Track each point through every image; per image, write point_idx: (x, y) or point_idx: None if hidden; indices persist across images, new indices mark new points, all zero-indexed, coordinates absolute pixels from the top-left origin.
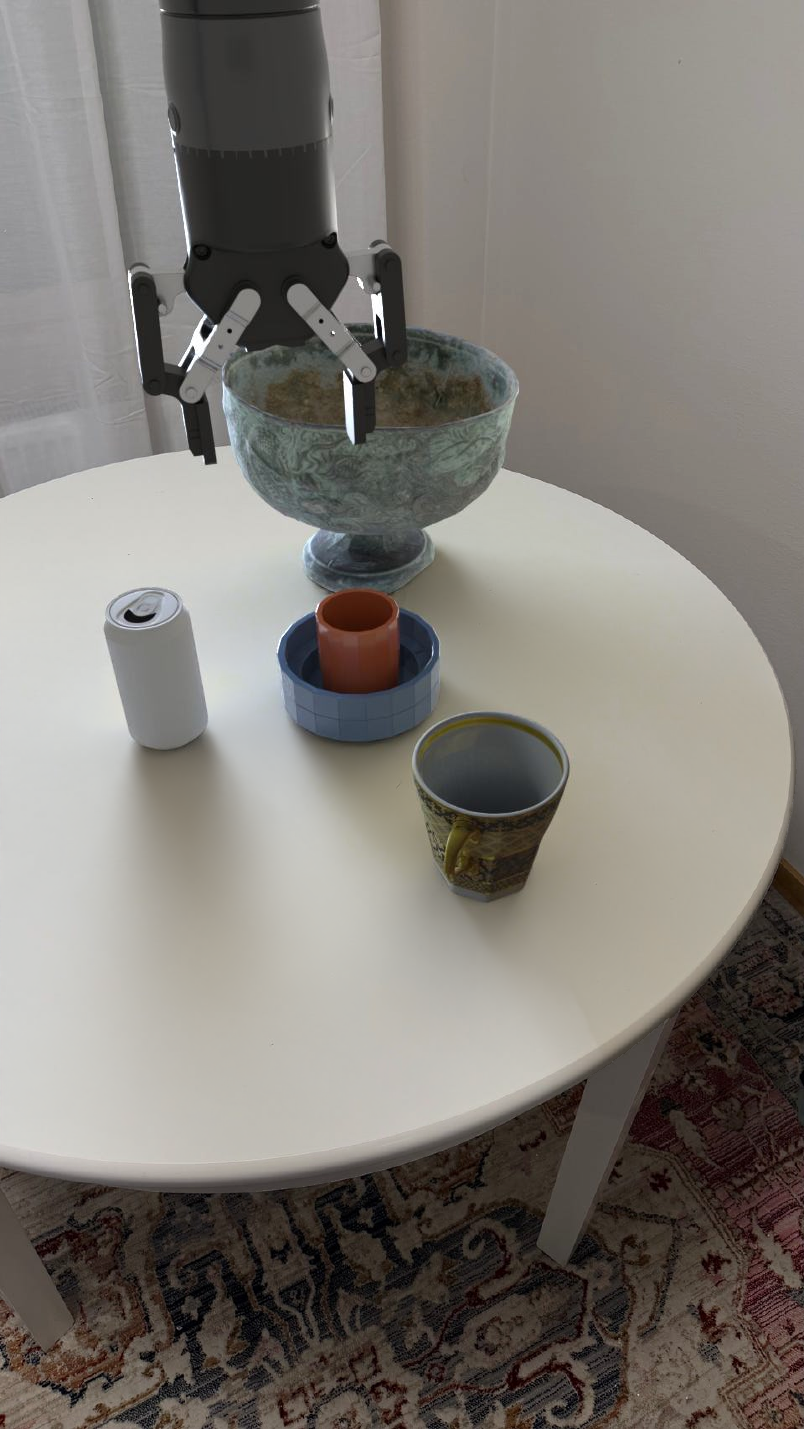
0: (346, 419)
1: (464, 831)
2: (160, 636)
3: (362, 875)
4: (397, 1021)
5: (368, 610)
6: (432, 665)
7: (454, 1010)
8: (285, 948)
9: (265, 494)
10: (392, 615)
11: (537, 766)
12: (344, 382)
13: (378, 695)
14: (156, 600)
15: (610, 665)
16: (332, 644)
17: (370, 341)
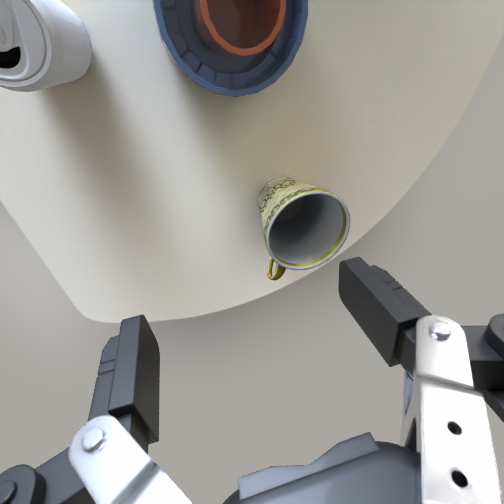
0: (350, 272)
1: (283, 270)
2: (41, 83)
3: (219, 203)
4: (230, 273)
5: None
6: (294, 55)
7: (253, 268)
8: (182, 244)
9: None
10: (278, 21)
11: (330, 202)
12: (385, 311)
13: (246, 93)
14: (5, 11)
15: (419, 8)
16: (215, 43)
17: (486, 362)
